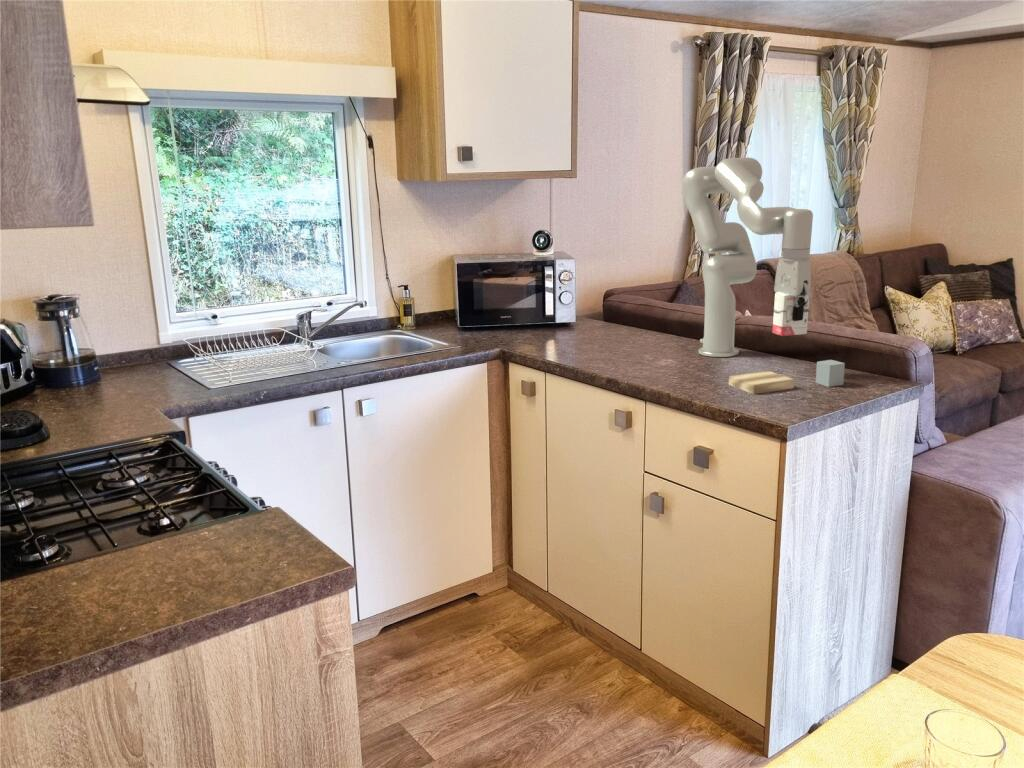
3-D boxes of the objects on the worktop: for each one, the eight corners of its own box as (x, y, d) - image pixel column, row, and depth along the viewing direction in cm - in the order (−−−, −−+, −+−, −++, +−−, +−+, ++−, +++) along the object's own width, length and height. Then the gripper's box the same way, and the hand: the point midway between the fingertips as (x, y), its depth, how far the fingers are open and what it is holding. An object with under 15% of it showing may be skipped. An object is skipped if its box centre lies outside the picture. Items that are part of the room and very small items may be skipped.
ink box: (781, 336, 225) (784, 294, 222) (771, 332, 230) (774, 292, 226) (807, 334, 227) (811, 292, 224) (797, 330, 232) (800, 290, 229)
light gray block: (815, 382, 220) (816, 361, 219) (830, 380, 222) (831, 359, 220) (828, 386, 216) (829, 365, 214) (843, 384, 217) (844, 363, 216)
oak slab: (728, 386, 221) (729, 376, 220) (767, 381, 225) (768, 370, 225) (753, 395, 211) (753, 384, 210) (793, 390, 215) (794, 379, 215)
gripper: (764, 252, 229) (760, 314, 234) (805, 258, 213) (800, 325, 218) (786, 250, 231) (781, 312, 236) (828, 257, 216) (822, 322, 221)
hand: (790, 317), depth 227 cm, fingers closed on ink box, 5 cm apart
